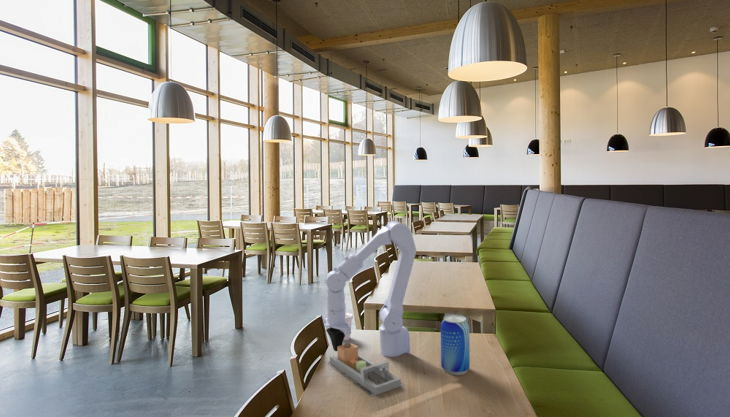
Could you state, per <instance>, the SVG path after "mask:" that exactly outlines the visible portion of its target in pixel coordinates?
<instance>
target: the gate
mask: <svg viewBox="0 0 730 417" xmlns="http://www.w3.org/2000/svg"><path fill="white" fill-rule="evenodd" d="M381 368H382V378H383V379H385V373H387V372H390V362H389V361H388V360H383V361H380V362H377V363H375V364H374V365H371V366H367V367H364V368H361V384H360V385H361V387H362V386H363V387H364V380H366V379H368V378H369V377H368V376H369V374H368V373H370V372H371V373H372V371H375V370H378V369H381Z"/></svg>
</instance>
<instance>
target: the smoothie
mask: <svg viewBox="0 0 730 417" xmlns="http://www.w3.org/2000/svg"><path fill="white" fill-rule="evenodd" d="M353 316H354V315H353V314H352V313H350V312H347V304H346V302H345V321H346V322H347V324H348V326H349V327H350V328H351V329H352V322H353V320H352V319H353ZM350 339H351V334H349V335H345V337H344V340H343V341H348V340H350Z"/></svg>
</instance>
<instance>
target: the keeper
mask: <svg viewBox="0 0 730 417" xmlns="http://www.w3.org/2000/svg"><path fill="white" fill-rule="evenodd" d="M337 350H338V351H337V359H339V360H340V361H342V362H343V363H345V364H346V365H348V366H349V367H351V368H352V369H355V370H356V362H357V361H358V354H359V347H358V345H356V344H354V343H352V342H349V343H345V344H342V345H341V346H337Z"/></svg>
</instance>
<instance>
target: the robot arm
mask: <svg viewBox="0 0 730 417" xmlns="http://www.w3.org/2000/svg"><path fill="white" fill-rule="evenodd" d="M413 236H414V235H413V232H412V231H411V230H410V228H409V227H408V226H407V225H406V224H404V223H401V221H398V220H391V221H389V222H388V223H387V224H386V225H385V226H382V227H381V228H380V229H379V230H378V231H377V232H376V233H375V234H374V236H372V237H371V239H369V240H368V242H366V244H365V245H363V247H362V248H360V250H358V252H357V253H350V254H349V255H347V254H346V255H345V256H344V257H343V259H344V260H343V261H342V262H340V263H339V264H338V265H337V266H334V267H333V270H331V271H329V272H328V273H327V275H326V277H325V279H324V280H325V284H326V307H327V308H326V309H327V310H326V311H327V316H323V319H322V321H323V323H324V327H325V328H326V331H325V332H327V334H328V336H329V339H330V341H331V345H332V349H333V351H334V352H338V350H337V346H341V345H344V343H343V342H344V341H345V340H344V337H345V335H349V334H350V335H351V334H352V327H351V328H350V327H349V326H348V324H347V322H346V321H345V303H346V299H345V298H346V294H345V287H346V282H349V281H350V280H351V279H352V278H353V277H354V276H355V275H356V274H357V273H358V272H359V271H361V269H363V267H364V266H363V265H364V261H366V259H368V258H369V257H370V256H372V254H373V253H375V252H376V251H377V250H378V249H379V248H381V247H382V246H387V245H392V243H393V244H394V245H395V246H396V247H397V249H398V250H399V253H398V254H399V255H398V258H397V262H396V265H395V270H394V273H393V277H392V281H391V286H390V289H389V292H388V295H387V298H386V299H385V301H384V304H383V306H382V307H381V309H379V312H378V318H379V320H380V322H381V324H380V327H379V345H380V347H379V348H380V355H382V356H384V357H390V358H391V357H392V358H393V357H399V356H401V355H403V354H405V353H407V354H410V355H412V353H411V336H410V332H409V330H408V328H407V327H405V326H404V325H403V324H404V319H403V314H404V301H405V295H406V292H407V289H408V285H409V281H410V276H411V273H412V269H413V265H414V261H415V259H416V258H415V257H416V254H417V247H416V244H415V240H414V238H413Z"/></svg>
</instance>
